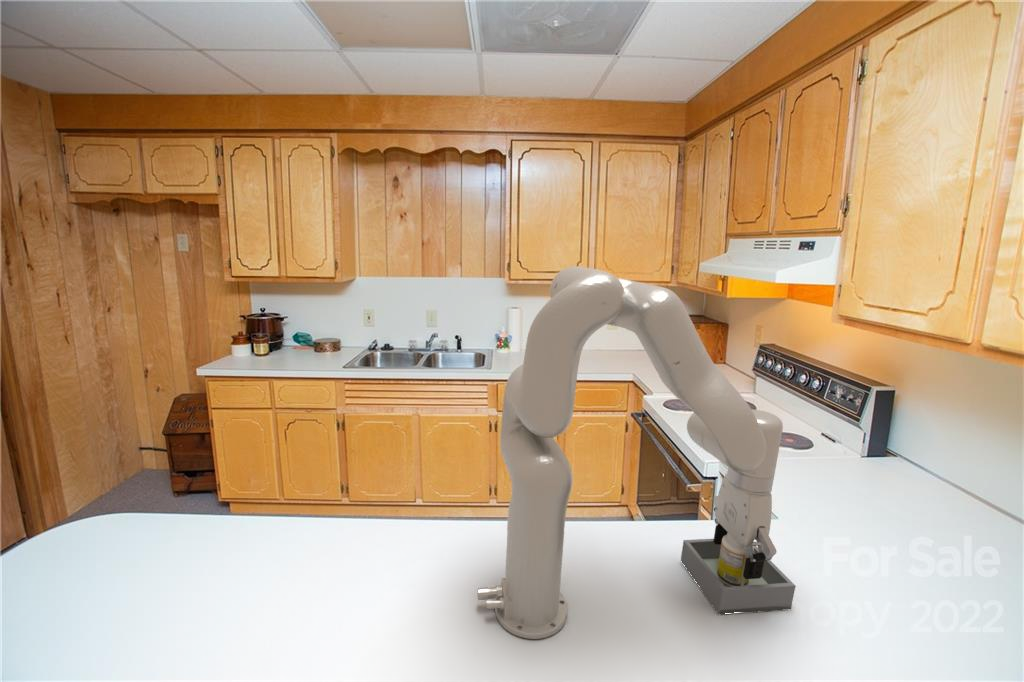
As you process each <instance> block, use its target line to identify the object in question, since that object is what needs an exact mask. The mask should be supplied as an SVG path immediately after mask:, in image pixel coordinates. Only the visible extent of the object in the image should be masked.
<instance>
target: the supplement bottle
mask: <svg viewBox="0 0 1024 682" xmlns="http://www.w3.org/2000/svg"><path fill="white" fill-rule="evenodd" d="M753 549H754V546H753ZM746 558H749V555H748V551H747V547H746V546H742V545H740V544H739V543H738V542H737V541H736V540H735V539H734V538H733V537H732V536H731V535H730V534H729V533H727V535H725V536H724V537H723V538H722V543H721V550H720V556H719V563H718V569H717V575H718V577H719V579H720V580H721V581H722V582H723V583H725V584H726V585H728V586H730V587H732V586H747V585H748V582H749V579H745V578H744V577H743V573H744V568H745V562H746Z"/></svg>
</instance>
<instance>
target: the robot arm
mask: <svg viewBox="0 0 1024 682" xmlns="http://www.w3.org/2000/svg"><path fill="white" fill-rule="evenodd" d="M549 295H550V299H549V300H548V301H547V302H546V303H545V305H544V306H542V308H541V309H540V310H539V312H538V313H537V314H536V315H535V317H534V319H533V321H532V323H531V326H529V331H528V334H527V337H526V339H527V340H526V345H525V350H524V357H523V364H522V365H521V364H520V365H519V366H518V367H516V368H515V369H514V370H513V371H512V372H511V373H510V375H509V377H508V379H507V381H506V383H505V387H504V393H503V400H502V401H503V402H502V414H501V426H500V440H499V441H500V442H499V443H500V453H501V456H502V460H503V461H504V464H505V466H506V469H507V472H508V475H509V477H510V482H511V496H510V501H509V505H508V510H507V526H506V530H507V532H506V533H507V534H506V535H507V536H506V550H505V551H506V552H505V553H506V557H505V573H504V574H505V576H504V577H501V583H500V584H495V587H488V586H487V587H485V586H484V587H478V588H477V600H478V601H485V609H486V610H494V612H495V617H496V618H497V621H498V622H499V623H500V625H501V627H503V628H504V629H505V630H506V631H508V632H509V633H511V634H513V635H515V636H518V637H519V638H524V639H530V640H537V639H538V640H540V639H545V638H548V637H551V636H553V635H555V634H556V633H557V632H559V631H560V630H561V629H562V628H563V627H564V625H565V624H566V622H567V617H568V609H569V608H568V603H567V600H566V598H565V597H564V595H563V594H562V593H561V582H562V581H561V580H562V568H563V567H562V566H563V555H564V554H563V552H564V542H565V539H564V538H565V528H566V527H565V524H566V515H567V514H566V513H567V508H568V503H569V499H570V495H571V492H572V488H573V481H574V479H573V471H572V467H571V465H570V462H569V460H568V458H567V455H566V454H565V453H564V451H563V450H562V448H561V447H560V445H559V444H558V442H557V441H556V440H555V438H556V437H558V436H560V435H561V434H563V433H564V432H565V431H566V430H567V429H568V427H569V425H570V423H571V421H572V419H573V415H574V409H575V399H576V398H575V397H576V391H577V389H576V388H577V381H578V371H579V365H580V361H581V360H580V359H581V356H582V355H581V354H582V351H583V349H584V346H585V344H586V343H587V341H588V340H589V339H590V337H591V336H592V335H593V334H594V333H595V332H597V331H598V330H599V329H601V328H602V327H604V326H605V325H610V326H615V327H619V328H623V329H625V330H628V331H630V332H633V333H634V334H635V335H636V336H637V338H638V340H639V342H640V344H641V345H642V347H643V349H644V350H645V352H646V354H647V356H648V358H649V359H650V361H651V363H652V365H653V367H654V369H655V371H656V373H657V374H658V376H659V378H660V380H661V381H662V383H663V384H664V386H665V387H666V388H667V389H668V390H669V391H670V392H671V393H672V394H673V396H674V397H676V399H678V400H679V401H680V402H681V403H682V404H683V405H685V406H686V407H688V409H690V411H692V412H693V413H692V414H691V415H690V416H689V417H688V420H687V423H686V431H687V433H688V436H689V438H690V439H691V441H692V442H694V443H695V444H696V445H697V446H699V447H700V448H701V449H702V450H703V451H705V452H707V454H708V453H709V454H710V455H711V456H713V457H714V458H716V459H717V460H718V461H720V462H721V463H722V464H723V465H725V466H726V467H727V472H726V473H725V475H724V476H723V479H722V481H721V484H720V486H719V491H718V495H714V496H713V503H714V508H713V511H714V523H715V528H714V529H715V530H714V536H713V539H714V541H713V542H714V543H715V544H717V545H718V544H721V543H722V538H723V537H724V536H725V535H727V533H729V534H730V535H731V536H732V537H733V538H734V539H735V540H736V541H737V542H738V543H739V544H740V545H742V546H746V547H747V551H748V555H749V558H746V562H745V568H744V573H743V577H744V578H745V579H759V578H761V576H762V570H763V565H764V561H767V560H771V561H772V559H773V557H774V556H775V555H776V554H777V549H776V546H775V544H774V543H773V541H772V538H771V537H770V530H771V523H772V512H773V510H772V509H773V508H772V507H773V498H772V497H773V496H772V491H773V485H774V480H775V475H776V468H777V462H778V457H779V452H780V447H781V446H780V445H781V441H782V435H783V431H784V430H783V429H784V425H783V421H782V419H780V418H779V417H778V416H777V415H775V414H773V413H771V412H769V411H764V410H760V409H752V408H751V406H750V405H749V404H748V402H747V401H746V399H745V398H744V397H743V396H742V395H741V393H740V392H739V391H738V390H737V388H735V386H734V385H733V384H732V383H731V381H730V380H729V379H728V378H727V377H726V375H725V374H724V372H722V370H721V369H720V367H718V366H717V365H716V364H715V363H714V361H713V360H712V358H711V356H710V355H709V353H708V351H707V349H706V347H705V345H704V344H703V343H704V342H702V340H701V337H700V336H699V335H700V334H699V333H698V331H697V329H696V327H695V325H694V323H693V321H692V319H691V317H690V315H689V313H688V311H687V308H686V306H685V305H684V303H683V302H682V300H681V299H680V297H679V296H678V295H677V294H676V293H675V292H674V291H672V290H671V289H669V288H666V287H664V286H659V285H656V284H655V285H654V284H650V283H645V282H642V281H641V282H640V281H634V280H630V279H626V278H622V277H617V276H615V275H614V274H612V273H610V272H608V271H605V270H602V269H597V268H592V267H586V266H585V267H584V266H580V265H579V266H576V265H572V266H568V267H565V268H563V269H561V270H560V271H559V272H557V274H556V275H555V276H554V277H553V279H552V281H551V283H550V287H549ZM753 546H757V547H758V550H759V553H756V554H755V553H754V549H753Z"/></svg>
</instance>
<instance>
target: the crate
mask: <svg viewBox="0 0 1024 682" xmlns="http://www.w3.org/2000/svg"><path fill="white" fill-rule="evenodd" d="M713 541H714V538H703V539H702V538H699V539H697V538H696V539H683V543H682V548H681V549H682V550H681V556H680V562H681V561H682V563H683V564H684V565H685V567H686V568H687V570H688V571H689V572H690V574H691V575H692V577H693V578H694V579H695V581H696V582H697V584H698V585H699V586H700V588H701V589H700V588H699V589H700V591H701V590H702V591H703V592H702V591H701V592H702V593H704V594H705V595H704V594H703V595H704V596H705V598H706V597H707V598H708V599H707V598H706V599H707V601H708V602H709V601H710V602H709V603H710V605H711V604H712V605H713V606H712V605H711V606H712V608H713V609H714V608H715V609H716V610H715V609H714V610H715V612H716V611H717V612H718V613H717V612H716V613H717V614H718V615H719V614H725V613H734V612H753V613H759V612H758V611H766V612H772V611H771V610H779V611H784V610H783V609H791V610H792V605H793V601H794V596H795V591H796V584H794V582H792V580H791V579H789V577H788V576H787V575H785V574H784V572H782V570H780V568H779V567H778V566H777V565H775V563H774V562H773V561H772V559H771V560H767V561H764V565H763V570H762V576H761V578H759V579H749V582H748V585H747V586H732V587H730V586H728V585H726V584H725V583H723V582H722V581H721V580H720V579H719V577H718V575H717V569H718V563H719V556H720V550H721V544H718V545H717V544H715V543H714V542H713ZM754 553H755V554H756V553H759V550H758V546H754ZM682 563H681V564H682ZM683 564H682V565H683ZM685 567H684V568H685ZM686 568H685V569H686ZM687 570H686V571H687ZM688 571H687V572H688ZM690 574H689V575H690ZM691 575H690V576H691ZM692 577H691V578H692ZM693 578H692V579H693ZM695 581H694V582H695ZM696 582H695V583H696ZM697 584H696V585H697ZM698 585H697V586H698Z"/></svg>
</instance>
